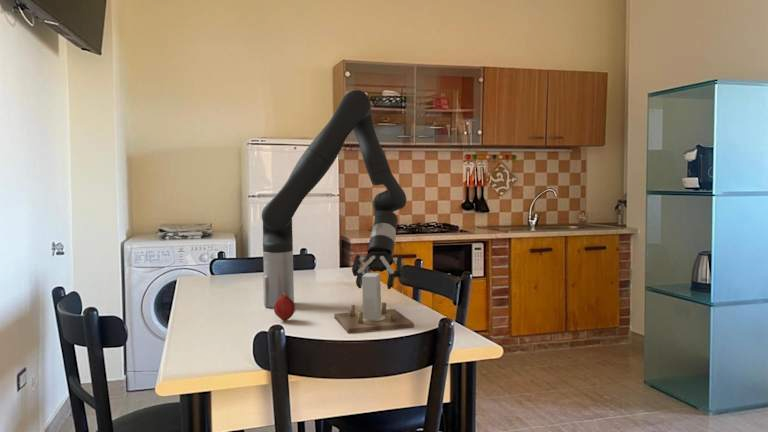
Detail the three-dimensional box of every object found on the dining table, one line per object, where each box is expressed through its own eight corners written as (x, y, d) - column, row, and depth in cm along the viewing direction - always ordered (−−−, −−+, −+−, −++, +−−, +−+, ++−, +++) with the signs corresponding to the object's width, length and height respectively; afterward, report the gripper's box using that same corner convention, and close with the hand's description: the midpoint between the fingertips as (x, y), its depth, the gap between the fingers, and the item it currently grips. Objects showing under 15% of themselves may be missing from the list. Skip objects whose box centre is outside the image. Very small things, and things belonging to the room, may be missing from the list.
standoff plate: (348, 333, 161) (347, 317, 160) (334, 317, 178) (333, 303, 178) (413, 327, 166) (413, 311, 165) (394, 313, 183) (394, 299, 183)
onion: (276, 318, 178) (276, 291, 177) (296, 318, 178) (296, 291, 177) (272, 323, 172) (271, 295, 172) (293, 323, 172) (292, 295, 171)
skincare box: (366, 314, 175) (365, 272, 174) (381, 315, 175) (380, 272, 174) (362, 319, 169) (361, 276, 168) (377, 320, 169) (377, 276, 168)
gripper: (356, 233, 183) (346, 278, 173) (404, 234, 180) (396, 280, 170) (361, 249, 189) (352, 294, 178) (407, 250, 186) (400, 295, 175)
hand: (373, 287), depth 174 cm, fingers open, 8 cm apart
